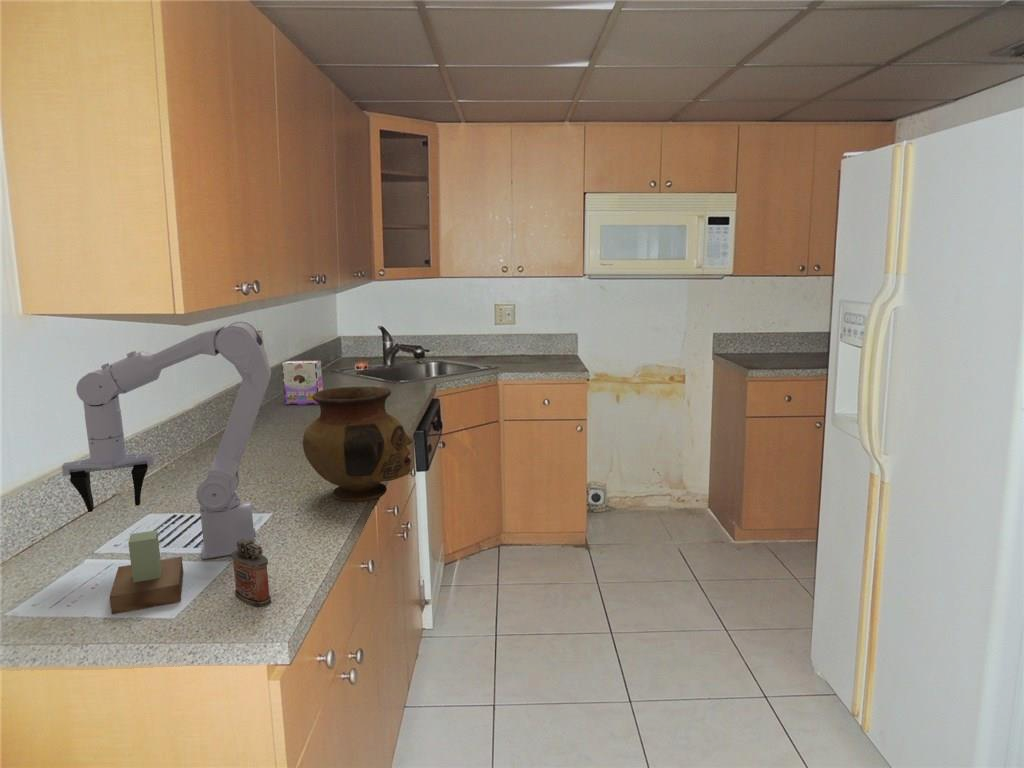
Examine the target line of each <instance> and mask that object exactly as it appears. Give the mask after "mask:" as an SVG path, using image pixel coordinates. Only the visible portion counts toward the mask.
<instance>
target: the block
mask: <svg viewBox="0 0 1024 768" xmlns="http://www.w3.org/2000/svg"><path fill="white" fill-rule="evenodd" d="M127 545H128V551H129V559H130V560H129V561H130V565H131V569H132V577H133V583H134V582H140V581H146V580H151V579H157V578H160V576H161V569H162V568H161V560H162V559H161V552H160V543H159V534H158V530H157V529H154V530H149V531H148V530H147V531H141V532H135V533H130V536H129V539H128V543H127Z"/></svg>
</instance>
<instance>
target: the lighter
mask: <svg viewBox="0 0 1024 768" xmlns="http://www.w3.org/2000/svg"><path fill="white" fill-rule="evenodd" d="M237 547H238V550H236V551H233V552H232V553H231V555H230V556H231V559H232V563H233V572H234V573H233V574H234V575H233V576H234V585H235V589H234V596H235V598H236V599H237V600H239V601H241V602H242V603H243V604H246V605H248V606H251V607H254V608H258V609H259V608H266V607H268V606H270V605H271V604H272V596H271V595H270V588H269V577H268V575H269V574H268V564H269V559H268V558H267V557H266V556H265V555H263V547H262V546H261V545H258V544H257V543H255V544H254V543H253V541H252V540H251V539H250V540H247V541H246V540H243V539H240V540H238V541H237Z"/></svg>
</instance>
